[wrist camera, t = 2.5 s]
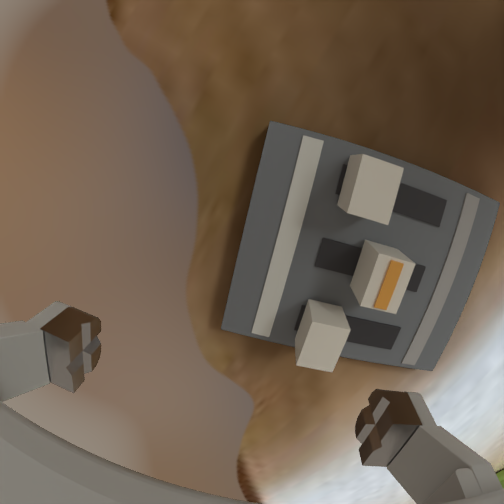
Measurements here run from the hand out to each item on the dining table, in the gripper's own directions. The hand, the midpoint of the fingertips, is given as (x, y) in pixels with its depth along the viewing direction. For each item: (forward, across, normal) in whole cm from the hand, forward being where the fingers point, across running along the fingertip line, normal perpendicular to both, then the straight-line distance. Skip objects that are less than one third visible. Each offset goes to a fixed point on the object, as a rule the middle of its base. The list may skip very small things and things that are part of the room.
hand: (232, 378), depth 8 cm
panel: (+20, -9, 0) cm, 22 cm away
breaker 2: (+18, -6, -6) cm, 20 cm away
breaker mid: (+18, -9, 0) cm, 20 cm away
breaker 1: (+18, -6, +6) cm, 20 cm away
